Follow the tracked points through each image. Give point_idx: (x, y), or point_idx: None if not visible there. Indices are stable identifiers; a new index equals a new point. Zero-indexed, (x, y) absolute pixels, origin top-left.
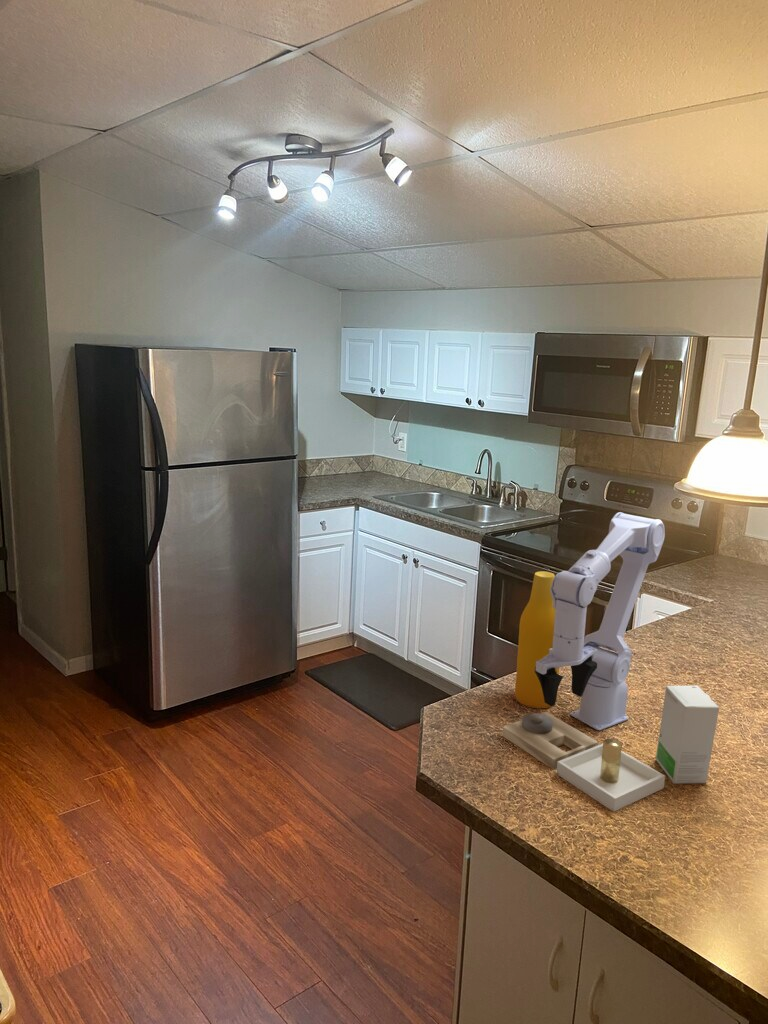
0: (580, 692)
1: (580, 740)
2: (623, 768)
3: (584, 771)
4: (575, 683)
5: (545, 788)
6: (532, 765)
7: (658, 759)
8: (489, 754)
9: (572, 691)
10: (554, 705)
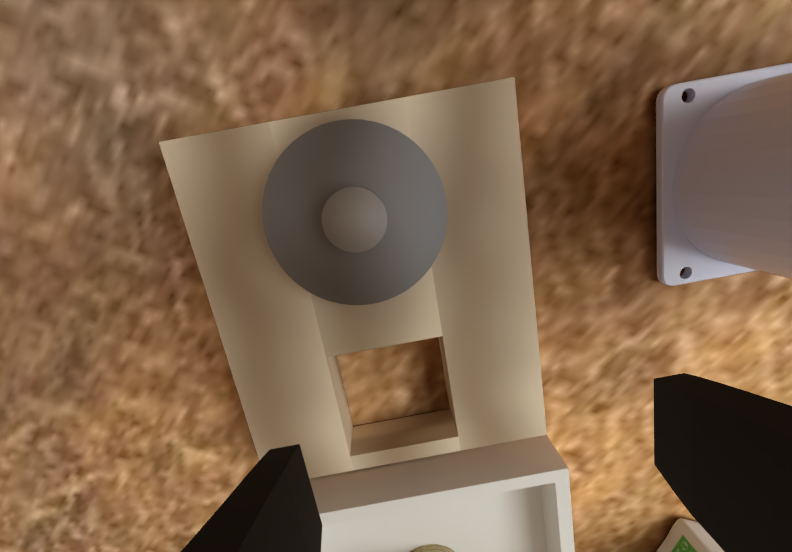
0: (690, 501)
1: (481, 400)
2: (521, 540)
3: (374, 516)
4: (766, 485)
5: (186, 534)
6: (211, 407)
7: (676, 547)
8: (54, 276)
9: (665, 385)
10: (320, 529)
